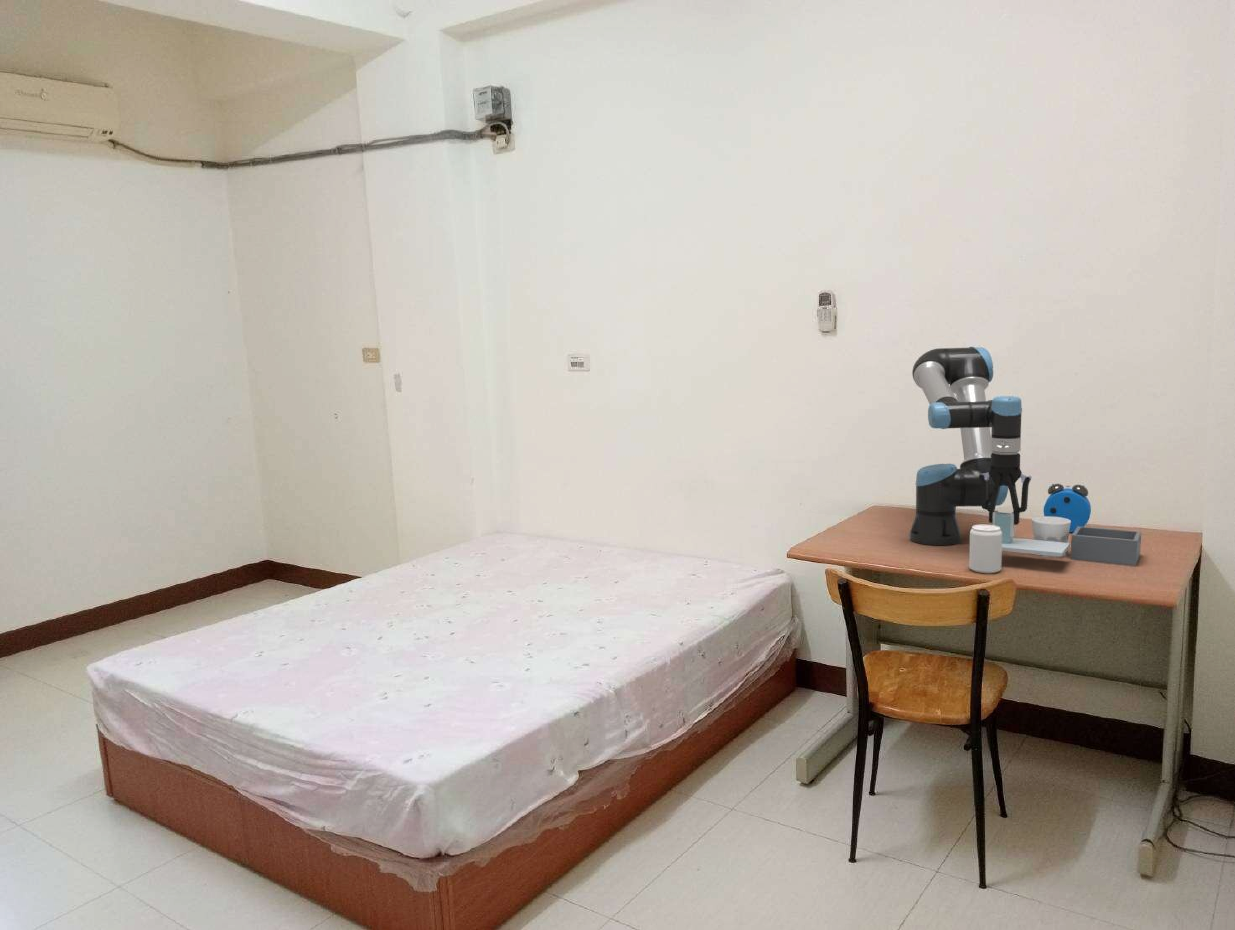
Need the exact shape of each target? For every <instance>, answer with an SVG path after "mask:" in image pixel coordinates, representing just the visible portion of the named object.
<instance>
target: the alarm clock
mask: <svg viewBox="0 0 1235 930" xmlns="http://www.w3.org/2000/svg"><path fill="white" fill-rule="evenodd" d="M1047 493H1048V495H1049V496H1048V497H1047V499H1046V500H1045V503H1044V506H1043V517H1045V516H1049V517H1060V518H1066V519H1069V520H1070V521H1071V524H1070V530H1069V533H1073V532H1074V531H1075V530H1076V528H1077V527H1078V526H1082V527H1086V525H1087V524H1088V523H1089V520H1090V517H1091V513H1092V507H1091V506H1092V505H1091V503H1090V501H1089V498H1088V497H1087V496H1088V495H1089V491H1088V489H1087V487H1086V486H1085V485H1082V484H1074V485H1073V486H1072V487H1071V485H1066V487H1065V486H1064V485H1062V484H1061V483H1055V484H1054V483H1052V485H1050V486H1049V487H1048V489H1047Z"/></svg>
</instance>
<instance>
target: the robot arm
mask: <svg viewBox="0 0 1235 930" xmlns="http://www.w3.org/2000/svg"><path fill="white" fill-rule="evenodd" d="M911 374H912V379H913V381H914V383H915V385H916V386H917V387H918V388H920V389H921V390H922V392H923V394H924V396H925V397H926V398H925V399H926V400H927V402H928V404H929V406H928V409H927V420H928V425H929V427H930V428H932V429H940V430H947V429H960V436H961V445H962V452H963V454H962V455H963V461H961V463H960V464H959V468H958V467H957V465H956V464H955V463H935V464H930V465H926V466H923V467H920V468H919V469H918V470H917V471H916V472H917V473H916V478H915V479H916V480H915V515H914V519H913V522H912V525H911V527H910V529H909V540H910V541H911V542H912V543H913V542H914V543H917V544H922V545H929V546H950V545H951V546H952V545H956V544H959V543H960V542H961V541H962V532H961V529H960V525H959V522H958V519H957V516H956V511H957V509H956V508H957V507H981V508H982V510H987V512H988V522H989V523H991V525H995V514H997V513H998V512H999V511H998V510H996V507H997V506H998V507H999V506H1001V505H1003V504H1004V503H1005V501H1006V499H1007V496H1008V492H1009V495H1010V500H1011V505H1012V510H1013V511H1012V512H1010V513H1011V524H1010V537H1013V538H1014V537H1015V535H1016V526H1018V525H1019V524H1020V516H1021V515H1020V513H1024V512H1026V511H1027V509H1028V501H1029V500H1028V498H1029V484H1030V482H1031V480H1032V476H1031V475H1026V474H1024V473H1023V472H1022V470H1021V453H1020V452H1021V449H1022V448H1021V444H1022V443H1021V442H1022V438H1021V437H1022V436H1021V435H1022V412H1023V408H1022V399H1021V398H1020V397H1019V396H1011V395H1010V396H1009V395H1004V396H1001V395H1000V396H995V397H993V398H992V399H989V400H987V398H986V397H987V396H986V392H985V391H986V389H987V388H988V387H989V383H991V382H992V380H993V377H994V362H993V359H992V356H991V354H990V352H989V350H988V349H986V348H985V347H980V346H979V347H975V346H969V347H945V348H940V347H939V348H935V349H934V348H933V349H930V350H929V351H925V353H922V355H921V356H920V357H918V359H917V360H916V361H915V363H914V365H913V367H912V372H911ZM990 428H991V429H990ZM1019 479H1020V482H1021V483H1022V485H1021V497H1020V504H1019V498H1018V493H1017V484H1016V482H1018V480H1019Z"/></svg>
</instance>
